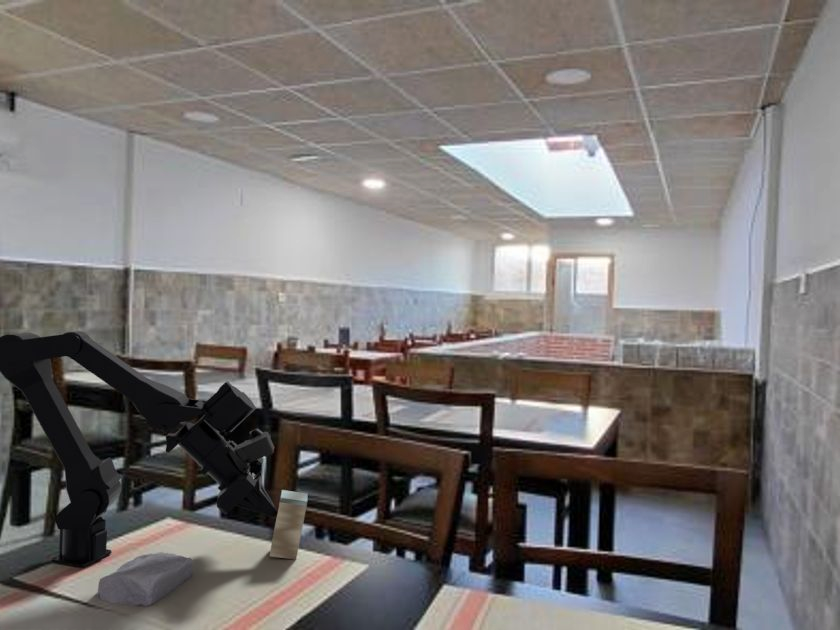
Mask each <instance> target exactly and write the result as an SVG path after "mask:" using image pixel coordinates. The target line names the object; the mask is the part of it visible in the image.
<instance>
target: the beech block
mask: <svg viewBox="0 0 840 630" xmlns="http://www.w3.org/2000/svg"><path fill="white" fill-rule="evenodd" d="M308 497H309V496H308V493H306V492H298V491H291V490H286V489H281V494H280V498H279V503H278V508H277V510H278V514H277V515H276V520H275V522H274V530H273V536H272V540H271V545H270V551H269V557H270V558H271V557H273V558H282V559H288V560H297V558H298V557H297V556H298V552H299V546H300V542H301V537H302V533H303V532H302V531H303V527H304V526H303V525H304V521H305V516H306V509H307V506H308Z"/></svg>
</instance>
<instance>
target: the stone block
mask: <svg viewBox="0 0 840 630" xmlns="http://www.w3.org/2000/svg"><path fill="white" fill-rule="evenodd" d="M193 572H194V566H193V558H191V557H186V556H184V555H183V556H182V555H179V554H176V553H172V552H163V551H160V552H155V553H148V554H142V555H139V556H136V557H135V558H133V559H130V560H129V561H127V562H126V563H123V564H122V565H120V567H118V568H117V569H116V570H115V571H113V572H112V573H110V574H108V575H105V576H102V577H101V578H99V581H98V586H97V587H98V588H97V591H98V596H99V598H100V600H101V601H106V602H108V603H112V604H120V605H122V604H128V605H132V606H141V605H142V607H150V606H153V605H154V604H156V603H157V602H159V600H161V599H163V598H164V597H165V596H167V595H169V593H171V592H172V591H174V590H176V588H178V586H180V585H182V584H183V583H185V582H186V581H187V580H189V578H191V576H192V573H193ZM184 581H185V582H184ZM152 604H153V605H152Z"/></svg>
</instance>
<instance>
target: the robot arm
mask: <svg viewBox="0 0 840 630" xmlns="http://www.w3.org/2000/svg"><path fill="white" fill-rule="evenodd" d="M61 357H63V358H64V357H67V358H70V359H72V361H73V362H75V363H77V364H78V365H80V366H81V367H83V368H84V369H85V370H87V371H88V372H90V373H91V374H93V375H94V376H96V377H97V378H98V379H100V380H102V382H104V383H106V385H109V386H110V387H111V388H113V389H114V390H116V391H117V392H118V393H119V394H121V395H123V396H124V397H125V398H127V399H128V401H130V402H131V403H132V405H133V406H134V408H135V409H136V410H137V412H138V413H139V415H141V416H142V417H143V418H144V419H145V420H146V421H147V422H148V423H149V425H151V426H152V427H153V428H154V429H156V430H159V431H163V432H164V431H170V430H174V429H175V428H177V427H178V426H180V425H181V423H185V422H186V423H185V424H184V425H183V426H182V427H180V428H179V430H178V431H176V432H175V433H168V434H167V435H166V436H165V440H166V446H165V453H168V454H169V453H170V452H172V451H173V450H174V449H175V448H176V447H177V446H179V447H180V448H181V449H182V450H183V451H184V452H185V453H186V454H187V455H188V456H189V457H190V458H191V459H193V460H194V461H195V462H196V464H198V465H199V466H200V467H201V468H200V470H199V472H200V473H201V474H203V475H204V476H205V475H206V474H208V475H209V476H210V477H211V478H212V479H213V480H214V481H215V482H216V483H217V484H218V487H217V489H218V490H219V491H220V492H219V494H218V496H217V498H216V508H217V509H218V510H219V511H221V513H222V514H223V515H227V514H229V512H230V511H232V510H233V509H234V508H235V507H240V508H242V509H245V510H249V511H252V512H256V513H258V514H261V515H265V516H267V517H271V518H275V517H277V514H278V508H277V507H276V505H275V504H274V502H273V501H272V499H271V496H270V495H269V494H268V493H267V490H266V489H265V486H264V485H263V482H262V481H263V469H260V470H259V471H258V472H257V473H256V474H255V473H254V472H252V471H254V469H255V468H256V467H257V466H261V465H262V463H263V461H264V459H263V458H264V457H265V458H266V457H267V458H268V456H270V455H272V454H274V453H275V450H276V449H275V448H276V446H275V445H274V443H273V441H272V439H271V438H272V436H271V435H270V434H269V431H264V432H263V431H262V430H261V429H259V428H258V427H257V428H255V429H253V430H251V431H249V433H248V439H247V440H244V442H241V443H239V444H237V443H236V442H235V441H234V440H230V439H229V440H228V441H227V440H226V439H225V438H224V437H223V436H222V435H221V433H224V432H225V431H226V432H228V433H232V432H233V431H234V430H235V429H236V428H237V427H238V426H239V425H240V424H241V423H242V422H243V421H244V420H245V419H246V418H247V417H249V416H250V415H251V414H252V413H253V412H254V411H255V410H256V405H255V404H254V402H253V401H252V399H250V397H249V396H248V395H247V394H246V393H245V392H244V391H241V390H239V389H238V388H237V387H236V386H235V385H232V384H231V383H230V381H225V382H224V383H223V384H222V385H221V386H219V388H218V389H217V391H216V392H215V393H214V394H213V395H211V396H210V398H208V400H202V399H195V398H189V397H187V395H186V394H184V393H183V392H182V391H178V390H176V389H175V388H172V387H170V386H169V385H166V384H163V383H161V382H158V381H154V380H152V379H151V378H148V377H146V376H144V374H142V373H140V372H139V371H138V370H136V369H135V368H133V367H132V366H130V365H129V364H128V363H126V362H124V360H122V359H121V358H120V357H117V356H116V355H115V354H114V353H112V352H111V351H110V350H108V349H106V348H105V347H104V346H102V345H101V344H99V343H98V342H96V341H95V340H93V339H92V338H91V336H90V335H89V334H88V333H86V332H84V331H82V330H75V331H67V332H64V333H63V334H56V335H48V336H42V337H41V336H39V335H38V334H35V333H32V332H19V333H17V332H16V333H11V334H10V333H9V334H4V335H1V336H0V373H1V375H2V376H3V377H4V379H6V380H7V381H8V382H9V383H10V384H12V385H13V386H14V387H16V388H17V389H18V390H19V391H20V392H21V393H22V395H23V396H24V398H25V399H26V402H27V404H28V405H29V407H30V408H31V409H30V410H31V411H32V412H33V414H34V415H35V417H36V420H37V421H38V423H39V425H40V427H41V430H43V432H44V434H45V436H46V438H47V439H48V441H49V443H50V445H51V447H52V449H53V451H54V452H55V454H56V456H57V458H58V460H59V462H60V463H61V465H62V467H63V470H64V476H65V479H64V480H65V489H66V492H67V495H68V500H69V502H70V503H68V504H67V505H66V506H65V507H64V508H63V509H61V510H60V511H59V512H58V513H57V514H56V515H55V516H54V522H55V525H56V528H57V529H58V530H59V543H58V544H59V546H58V547H59V548H58V555H55V556H53V557H51V559H50V561H51V563H58V564H62V565H67V566H74V567H77V568H78V567H80V568H84V567H87V566H89V565H91V564H93V563H95V562H97V561H99V560H101V559H103V558H106V556H109V555H111V554H112V550H111V549H108V548H107V546H108V545H107V544H108V543H107V541H108V540H107V539H108V531H107V529H106V522H107V519H103V515H104V514H105V513H106V512H107V511H108V509H109V508H110V507H111V506H112V505H113V504H114V502H116V501H117V499H118V498H119V497H120V494H121V492H122V484H121V481H120V480H121V479H123V476H122V475H121V474H120V473H118V471H117V469H116V467H115V465H114V461H113V459H112V458H111V457H108V458H106V459H105V460H102V459H100V458H99V457H98V456H96V455H95V454H94V452H93V451H92V450H91V447H90V446H89V444H88V442H87V440H86V439H85V437H84V435H83V433H82V432H81V431H82V430H81V429H80V428H79V426H78V424H77V422H76V420H75V418H74V416H73V414H72V413H71V411H70V409H69V407H68V405H67V404H66V402H65V400H64V398H63V396H62V394H61V393H60V390H59V389H58V387H57V385H56V383H55V382H54V379H53V374H52V360H51V359H56V358H61ZM201 413H203V414H204V415H203V416H202V417H201V418H200V419H198V421H197V422H195V423H192V422H190V421H193V420H195V419H196V417H198V416H199V415H200V414H201ZM219 432H220V433H219ZM251 472H252V473H251Z"/></svg>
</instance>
